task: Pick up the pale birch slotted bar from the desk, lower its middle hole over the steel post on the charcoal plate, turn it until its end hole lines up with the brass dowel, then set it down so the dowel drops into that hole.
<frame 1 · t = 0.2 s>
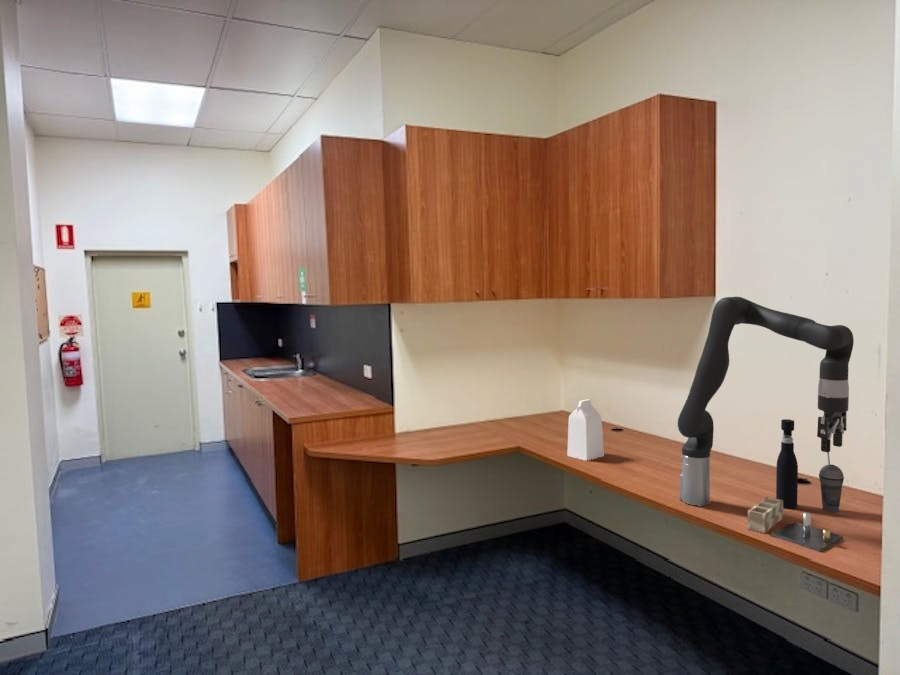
hand: (831, 448, 174), 28 cm above the worktop, tool pointing down, fingers open, 8 cm apart
mounting plate: (806, 537, 180), on the worktop
grey tapered rounded cylinder: (830, 510, 201), on the worktop
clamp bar: (759, 528, 188), on the worktop
milk: (585, 456, 275), on the worktop
wine bottle: (786, 506, 207), on the worktop
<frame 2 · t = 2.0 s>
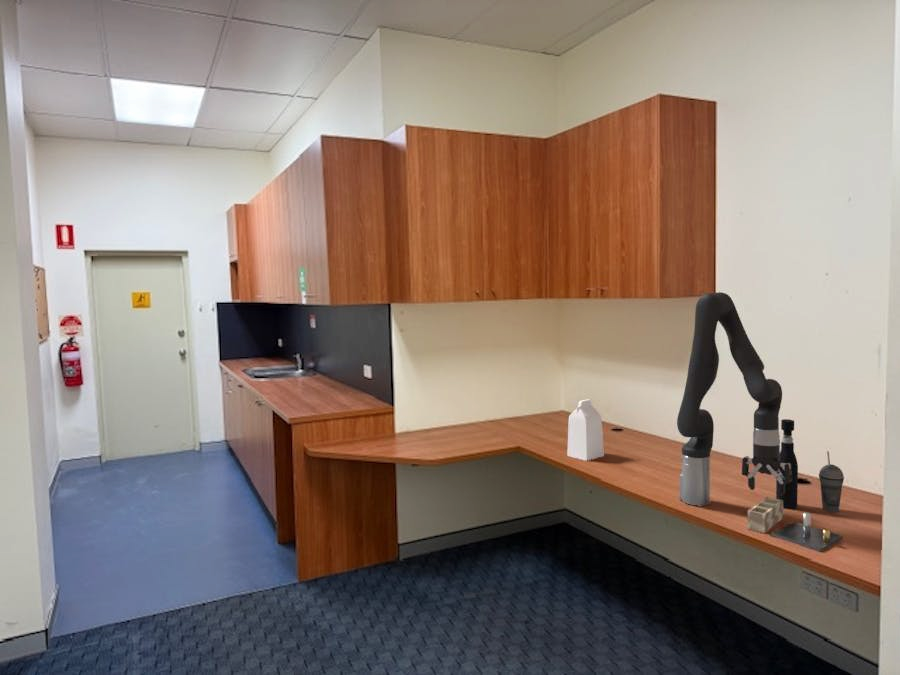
hand: (766, 492, 190), 11 cm above the worktop, tool pointing down, fingers open, 8 cm apart
nothing on the worktop moved.
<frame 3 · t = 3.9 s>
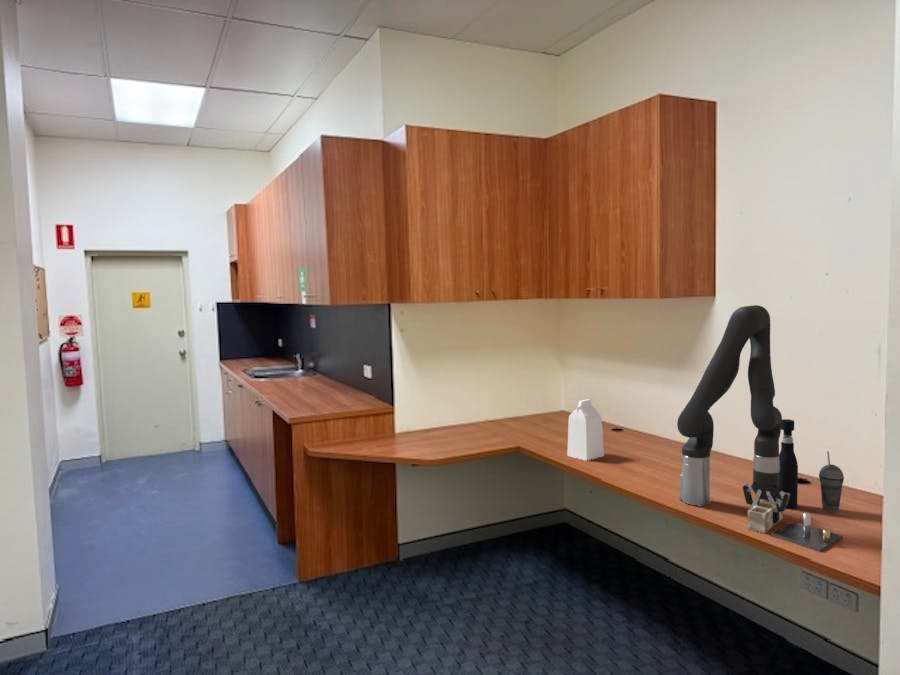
hand: (765, 520, 192), 1 cm above the worktop, tool pointing down, fingers closed on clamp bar, 5 cm apart
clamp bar: (759, 528, 188), on the worktop, touching gripper
everything else where it was.
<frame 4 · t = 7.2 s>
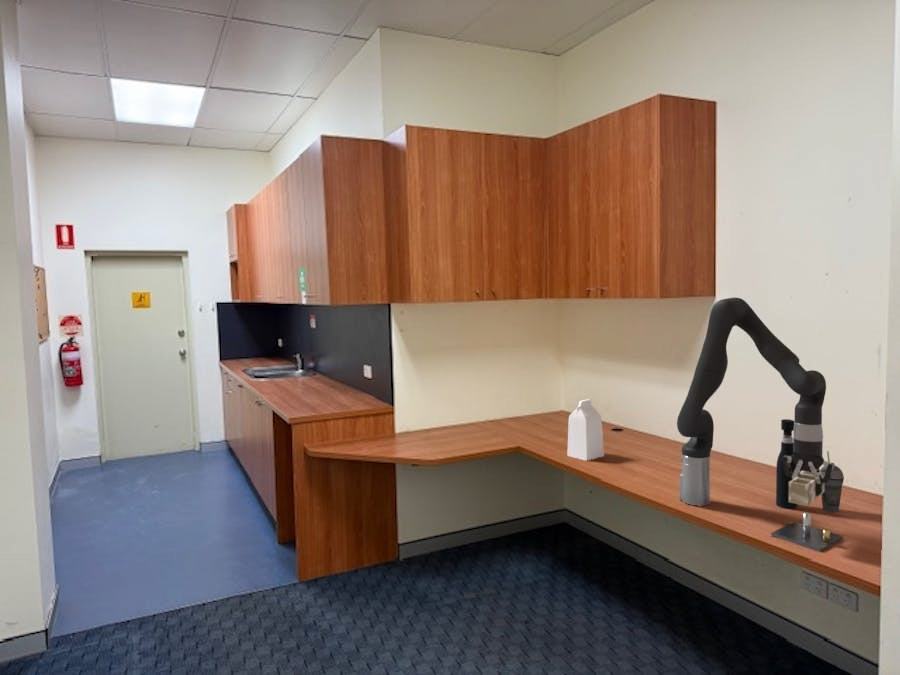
hand: (807, 492, 179), 14 cm above the worktop, tool pointing down, fingers closed on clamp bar, 5 cm apart
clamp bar: (801, 501, 175), point 13 cm above the worktop, touching gripper
everything else where it was.
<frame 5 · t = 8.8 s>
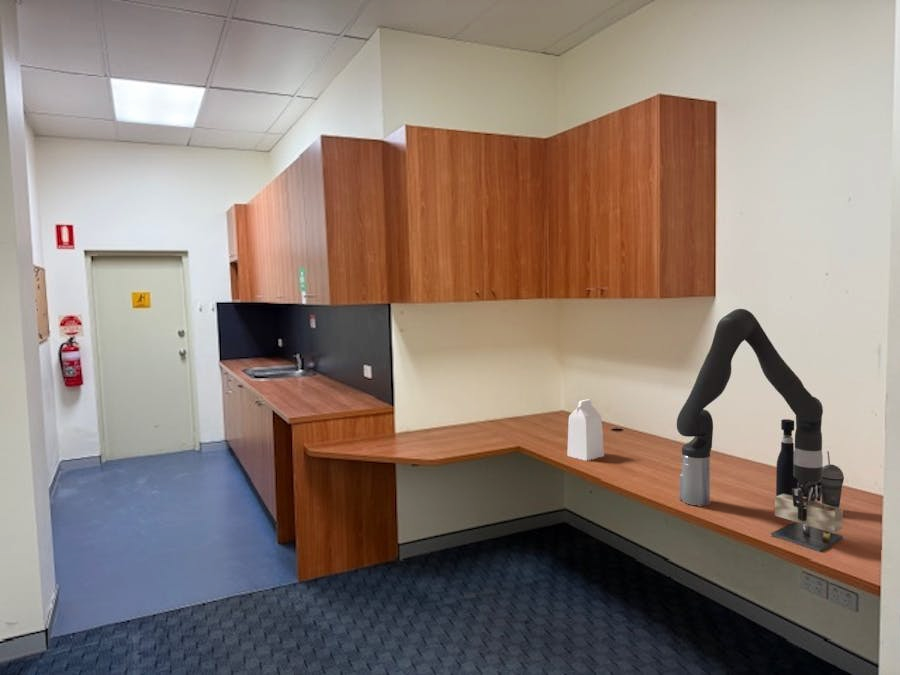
hand: (806, 517, 180), 6 cm above the worktop, tool pointing down, fingers closed on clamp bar, 5 cm apart
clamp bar: (826, 527, 175), point 5 cm above the worktop, touching gripper
everything else where it was.
when the fingers open (3 cm above the worktop, at t = 10.5 s): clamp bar drops 1 cm, resting on mounting plate.
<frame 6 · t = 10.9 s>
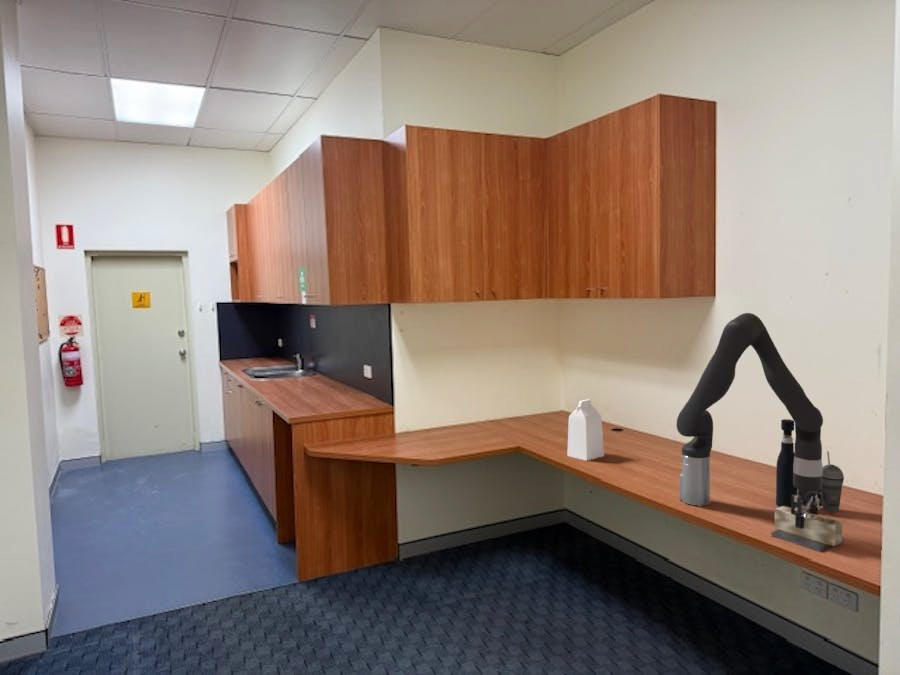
hand: (806, 524, 180), 4 cm above the worktop, tool pointing down, fingers open, 8 cm apart
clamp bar: (826, 540, 176), point 1 cm above the worktop, touching mounting plate
everything else where it was.
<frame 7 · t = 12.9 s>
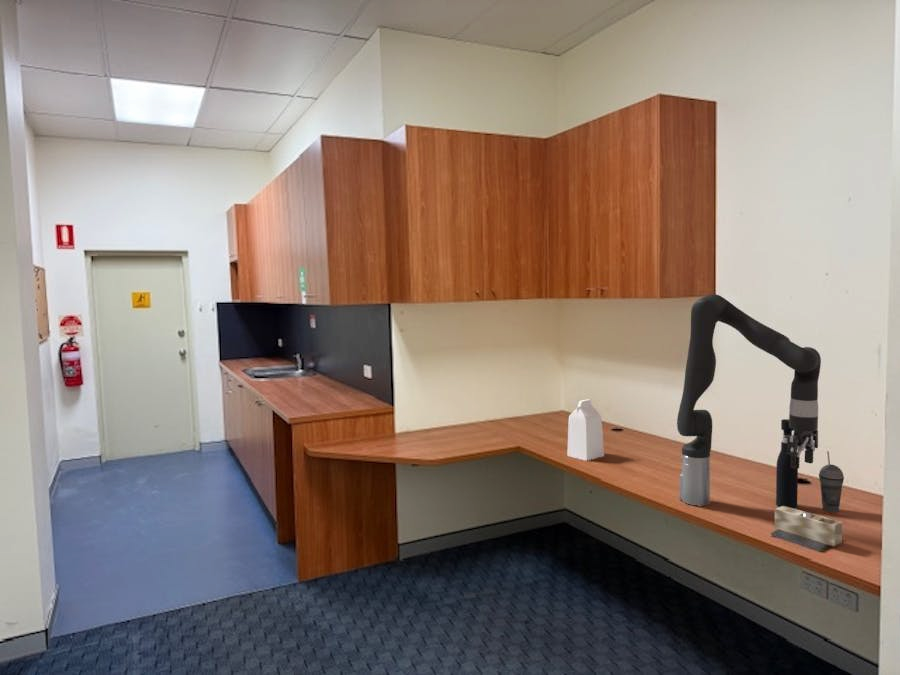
hand: (801, 465, 182), 21 cm above the worktop, tool pointing down, fingers open, 8 cm apart
nothing on the worktop moved.
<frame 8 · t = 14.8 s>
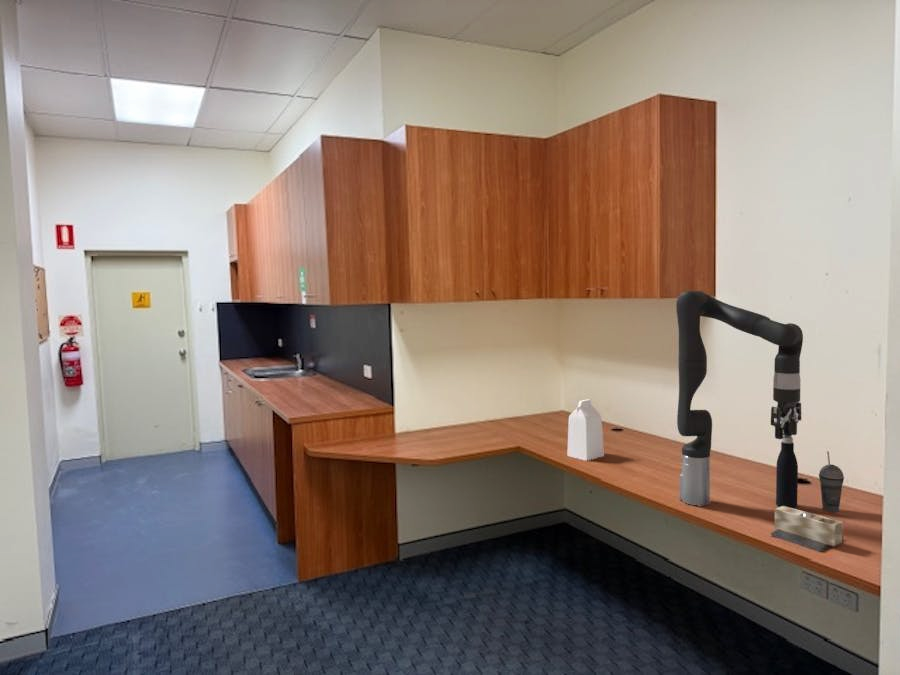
hand: (786, 436, 190), 28 cm above the worktop, tool pointing down, fingers open, 8 cm apart
nothing on the worktop moved.
at the end: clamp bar 0.2 cm from the target spot on the mounting plate, point 1.0 cm above the mounting plate's base; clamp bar tilted 0°; the gripper is holding nothing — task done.
